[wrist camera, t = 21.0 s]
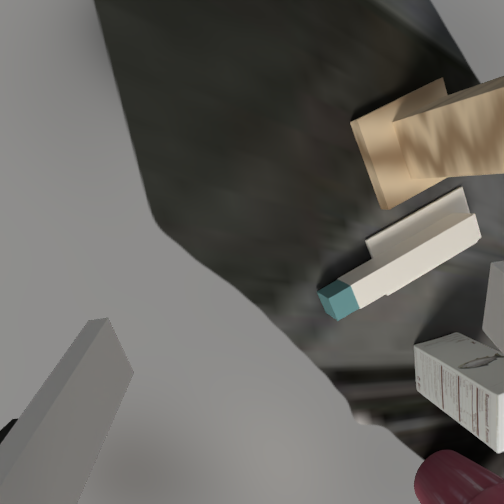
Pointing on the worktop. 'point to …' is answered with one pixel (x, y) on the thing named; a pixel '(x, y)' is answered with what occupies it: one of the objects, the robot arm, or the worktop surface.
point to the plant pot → (456, 481)
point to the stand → (432, 138)
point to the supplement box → (464, 384)
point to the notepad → (419, 226)
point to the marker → (399, 264)
